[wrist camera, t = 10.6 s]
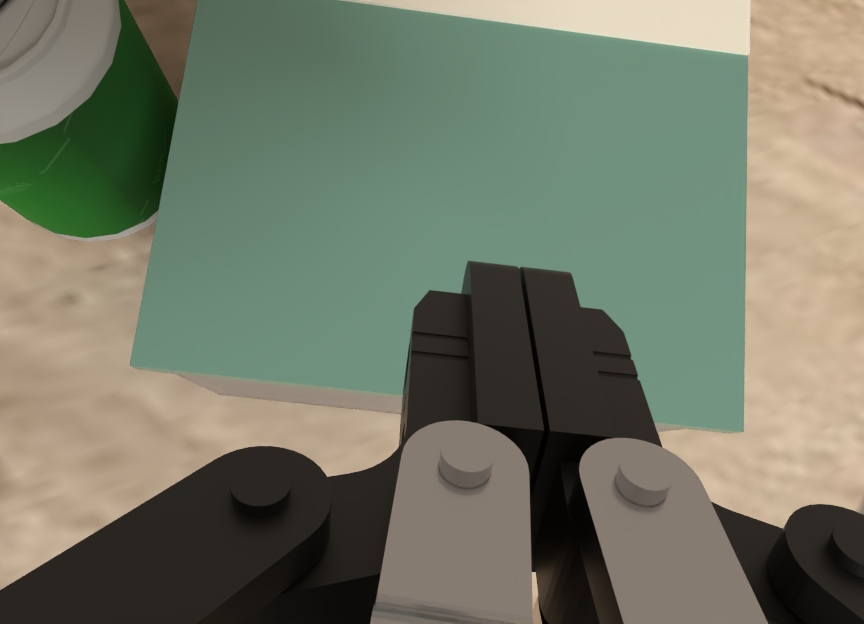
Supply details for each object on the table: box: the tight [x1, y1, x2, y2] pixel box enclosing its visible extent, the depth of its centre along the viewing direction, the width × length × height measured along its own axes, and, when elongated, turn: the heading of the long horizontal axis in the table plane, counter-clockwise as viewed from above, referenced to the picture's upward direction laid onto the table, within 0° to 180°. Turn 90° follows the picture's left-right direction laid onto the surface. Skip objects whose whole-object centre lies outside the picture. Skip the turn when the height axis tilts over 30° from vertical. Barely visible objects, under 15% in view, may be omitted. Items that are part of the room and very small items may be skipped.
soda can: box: [0, 0, 179, 242], centre depth 26 cm, size 8×8×12 cm
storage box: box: [176, 374, 684, 432], centre depth 28 cm, size 16×14×9 cm
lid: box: [130, 0, 750, 434], centre depth 23 cm, size 17×14×1 cm
